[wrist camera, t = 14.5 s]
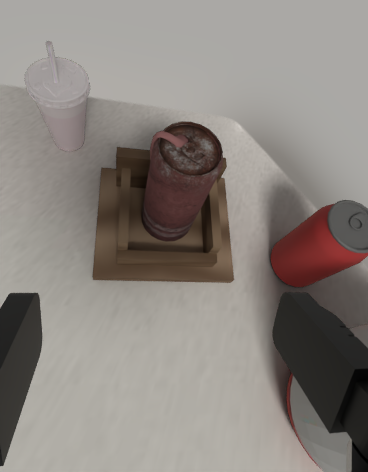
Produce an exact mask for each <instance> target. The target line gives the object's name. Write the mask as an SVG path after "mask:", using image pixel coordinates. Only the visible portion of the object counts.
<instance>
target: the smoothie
mask: <svg viewBox="0 0 368 472" xmlns="http://www.w3.org/2000/svg"><path fill="white" fill-rule="evenodd" d="M46 46H47V51H48V56H49V58H44V59H41V60H39V61H36V62H35V63H33V64H32V65H31V66H30V67H29V68H28V69H27V71H26V74H25V83H26V88H27V91H28V94H29V95H30V96H31V97H32V99H33V100H35V102H36V104H37V106H38V108H39V110H40V112H41V114H42V116H43V118H44V121H45V123H46V125H47V127H48V129H49V131H50V133H51V135H52V138H53V140H54V142H55V144H56V145H57V147H58V148H60V149H62V150H64V151H75V150H78V149H79V148H81V147H82V145H83V143H84V133H85V116H86V101H87V96H88V95H89V91H90V83H89V78H88V75H87V73H86V72H85V70H84V69H83V68H82V67H81V66H80V65H78V64H77V63H75V62H73V61H71V60H68V59H64V58H58V57H55V55H54V50H53V45H52V42H50V41H47V42H46Z"/></svg>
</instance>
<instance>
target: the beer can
mask: <svg viewBox="0 0 368 472" xmlns="http://www.w3.org/2000/svg"><path fill="white" fill-rule="evenodd" d="M367 256H368V209H367V208H366V207H364V206H363V205H362V204H360V203H357V202H355V201H350V200H343V201H339V202H337V203H336V204H332V205H328V206H325V207H322V208H321V209H319V210H318V211H317V212H315V213H314V214H313V215H312V216H310V217H309V218H308V219H307V220H305V221H304V222H303V223H301V224H300V225H299V226H298V227H296V228H295V229H294V230H293V231H291V232H290V233H289V234H288V235H286V236H285V237H284V238H282V239H281V240H280V241H279V242H277V243H276V244H275V246H274V247H273V249H272V253H271V264H272V267H273V269H274V272H275V273H276V275H277V276H278V277H279V278H280V279H281V280H282V281H283V282H285V283H286V284H288V285H291V286H294V287H305V286H308V285H310V284H313V283H315V282H317V281H319V280H322V279H324V278H326V277H328V276H331V275H333V274H335V273H338V272H340V271H342V270H344V269H347V268H349V267H351V266H353V265H356V264H358V263H360V262H361V261H362V260H363V259H365V258H366V257H367Z"/></svg>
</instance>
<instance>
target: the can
mask: <svg viewBox="0 0 368 472" xmlns="http://www.w3.org/2000/svg"><path fill="white" fill-rule="evenodd" d="M222 153H223V151H222V147H221V143H220V142H219V140H218V138H217V137H216V135H215V134H214V133H212V132H211V131H210V130H209V129H208V128H206V127H204V126H202V125H200V124H197V123H193V122H178V123H174V124H171V125H170V126H168V127H167V128H165V129H164V130H163V131H160V132H157V133H156V134H155V135H154V136H153V139H152V143H151V147H150V160H151V161H150V167H149V173H148V179H147V184H146V190H145V196H144V202H143V208H142V214H141V217H142V224H143V226H144V228H145V230H146V231H147V232H148V233H149V234H150V235H151V236H152V237H154V238H156V239H158V240H161V241H166V242H168V241H176V240H178V239H181V238H182V237H184V236H185V235H186V234H187V233H188V231H189V230H190V228H191V226H192V224H193V222H194V220H195V218H196V217H197V215H198V213H199V211H200V209H201V207H202V205H203V203H204V201H205V199H206V198H207V196H208V194H209V192H210V190H211V188H212V186H213V184H214V182H215V181H216V179H217V177H218V175H219V173H220V171H221V169H222V166H223V155H222Z"/></svg>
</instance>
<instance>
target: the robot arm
mask: <svg viewBox="0 0 368 472" xmlns="http://www.w3.org/2000/svg"><path fill="white" fill-rule="evenodd" d="M273 340H274V344H275V346H276V348H277V350H278V351H279V353H280V355H281V356H282V358H283V359H284V361H285V363H286V364H287V366H288V368H289V369H290V371H291V372H292V374H293V376H294V377H295V379H296V380H297V382H298V384H299V385H300V387H301V388H302V390H303V392H304V393H305V395H306V397H307V398H308V400H309V401H310V403H311V405H312V406H313V408H314V409H315V411H316V413H317V414H318V416H319V417H320V419H321V421H322V422H323V424H324V425H325V427H326V429H327V430H328V432H329V434H331V433H340V432H347V433H348V435H349V436H350V439H349V441H348V444H347V455H346V472H368V348H367V347H366V346H365V345H364V344H363V343H362V342H361V341H360V340H359V339H358V338H357V337H355V336H354V334H353V333H352V332H351V331H350V330H349V329H348V328H346V326H345V325H344V324H343V322H342V321H341V320H340V319H339V318H338V317H337V316H336V315H334V314H332V313H331V312H329V311H328V310H326V309H324V308H323V307H321V306H320V305H319V304H318V303H317V302H316V301H315V300H314V299H313V298H312V297H311V296H310V295H309V294H308V293H305V292H286V293H284V294H283V295H282V296H281V299H280V303H279V307H278V311H277V315H276V319H275V323H274V327H273ZM41 347H42V325H41V311H40V299H39V295H38V293H10V294H9V295H8V297H7V298H6V300H5V302H4V303H3V305H2V307H1V308H0V466H3V465H4V462H5V459H6V456H7V453H8V450H9V447H10V444H11V441H12V438H13V435H14V432H15V429H16V426H17V423H18V420H19V417H20V414H21V411H22V408H23V405H24V402H25V399H26V396H27V393H28V390H29V387H30V384H31V381H32V378H33V375H34V372H35V369H36V366H37V363H38V360H39V357H40V353H41Z"/></svg>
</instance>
